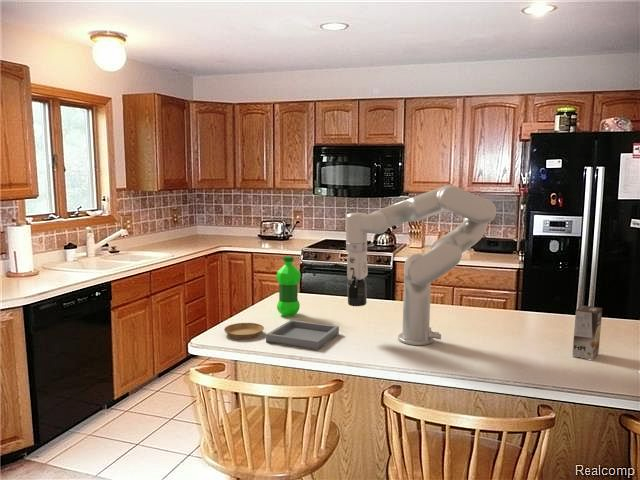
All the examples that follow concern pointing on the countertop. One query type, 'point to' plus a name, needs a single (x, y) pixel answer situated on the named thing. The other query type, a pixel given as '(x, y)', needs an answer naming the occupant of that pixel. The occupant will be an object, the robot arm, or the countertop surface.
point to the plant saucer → (244, 330)
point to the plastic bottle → (288, 288)
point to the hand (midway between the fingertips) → (357, 295)
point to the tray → (302, 334)
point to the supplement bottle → (361, 294)
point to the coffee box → (587, 332)
